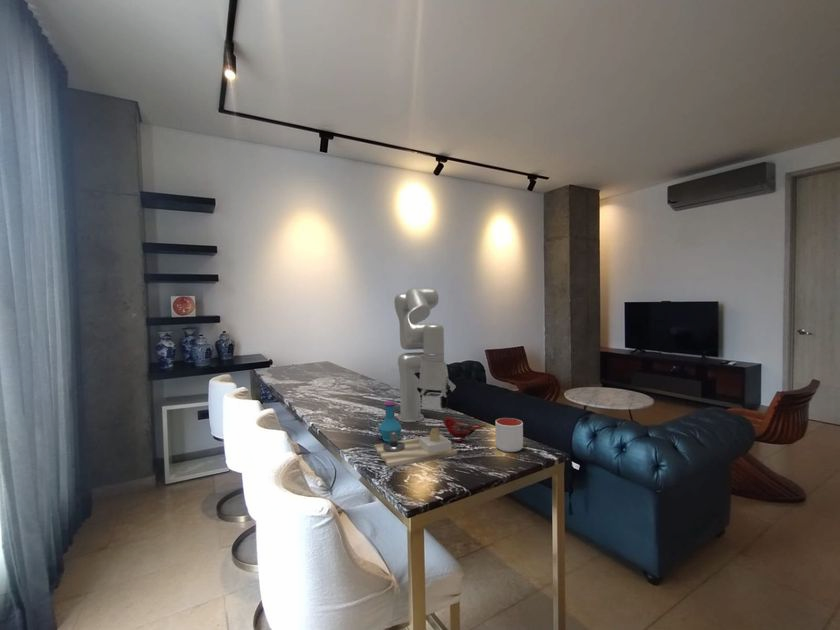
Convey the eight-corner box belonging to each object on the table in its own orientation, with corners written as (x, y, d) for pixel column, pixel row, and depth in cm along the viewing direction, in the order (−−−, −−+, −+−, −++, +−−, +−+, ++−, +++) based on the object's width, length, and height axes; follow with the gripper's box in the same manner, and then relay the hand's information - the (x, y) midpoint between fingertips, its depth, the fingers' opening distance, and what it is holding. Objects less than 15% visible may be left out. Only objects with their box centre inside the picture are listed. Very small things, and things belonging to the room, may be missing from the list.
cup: (509, 455, 136) (509, 427, 136) (490, 446, 144) (489, 420, 144) (528, 449, 141) (528, 422, 141) (509, 441, 150) (508, 416, 149)
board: (374, 448, 144) (373, 444, 144) (436, 438, 153) (436, 435, 153) (387, 467, 127) (387, 463, 127) (457, 455, 137) (457, 450, 137)
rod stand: (380, 445, 143) (380, 430, 142) (400, 442, 146) (400, 427, 145) (386, 453, 135) (386, 437, 135) (407, 450, 138) (407, 434, 138)
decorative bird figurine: (441, 441, 151) (441, 416, 151) (485, 439, 153) (485, 414, 152) (442, 443, 148) (442, 418, 148) (487, 441, 150) (487, 416, 149)
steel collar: (422, 408, 137) (422, 396, 137) (429, 403, 144) (429, 392, 144) (440, 410, 135) (440, 397, 135) (446, 405, 141) (446, 393, 141)
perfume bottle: (389, 444, 148) (389, 406, 148) (374, 439, 154) (373, 402, 154) (406, 438, 155) (405, 401, 154) (390, 433, 161) (390, 398, 161)
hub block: (419, 445, 143) (418, 427, 142) (440, 441, 146) (440, 423, 146) (428, 454, 134) (428, 434, 134) (451, 450, 138) (451, 431, 137)
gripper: (408, 358, 139) (409, 407, 139) (453, 360, 132) (454, 411, 132) (416, 356, 146) (417, 402, 146) (459, 357, 139) (460, 406, 139)
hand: (434, 406), depth 139 cm, fingers closed on steel collar, 7 cm apart
